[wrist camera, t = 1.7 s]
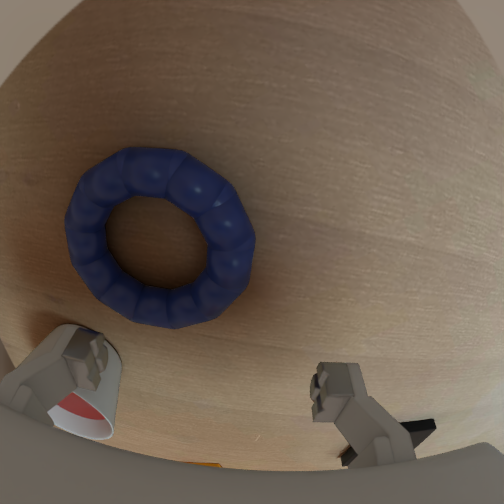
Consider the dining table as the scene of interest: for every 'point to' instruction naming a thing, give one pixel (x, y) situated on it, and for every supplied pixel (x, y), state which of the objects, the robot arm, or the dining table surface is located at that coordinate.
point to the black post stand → (416, 430)
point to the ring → (184, 197)
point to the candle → (86, 396)
